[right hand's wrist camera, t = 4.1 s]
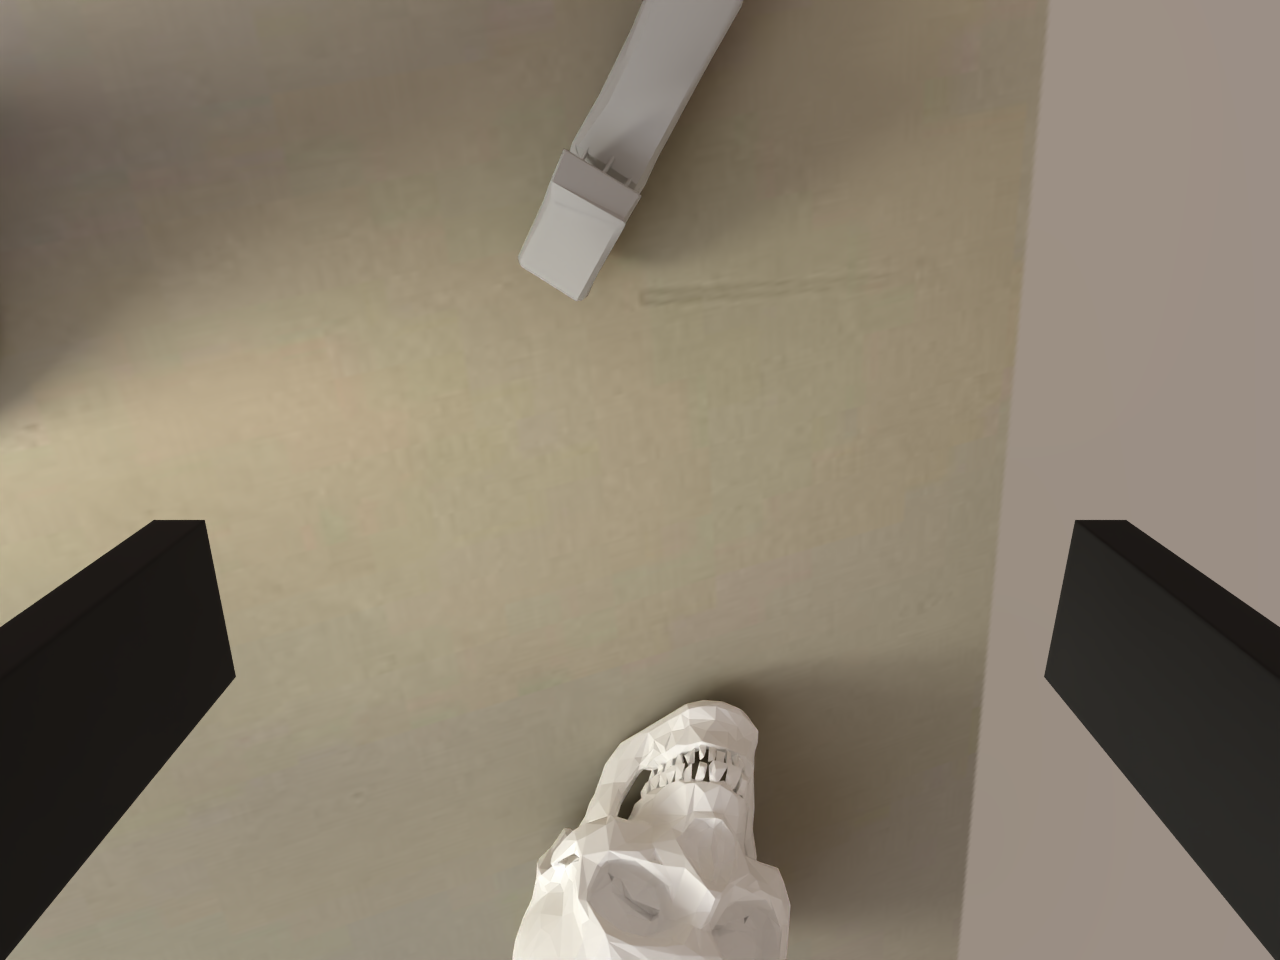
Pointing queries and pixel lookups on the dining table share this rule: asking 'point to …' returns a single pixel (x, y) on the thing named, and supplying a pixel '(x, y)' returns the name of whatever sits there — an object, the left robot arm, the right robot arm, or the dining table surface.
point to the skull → (664, 856)
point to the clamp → (622, 140)
